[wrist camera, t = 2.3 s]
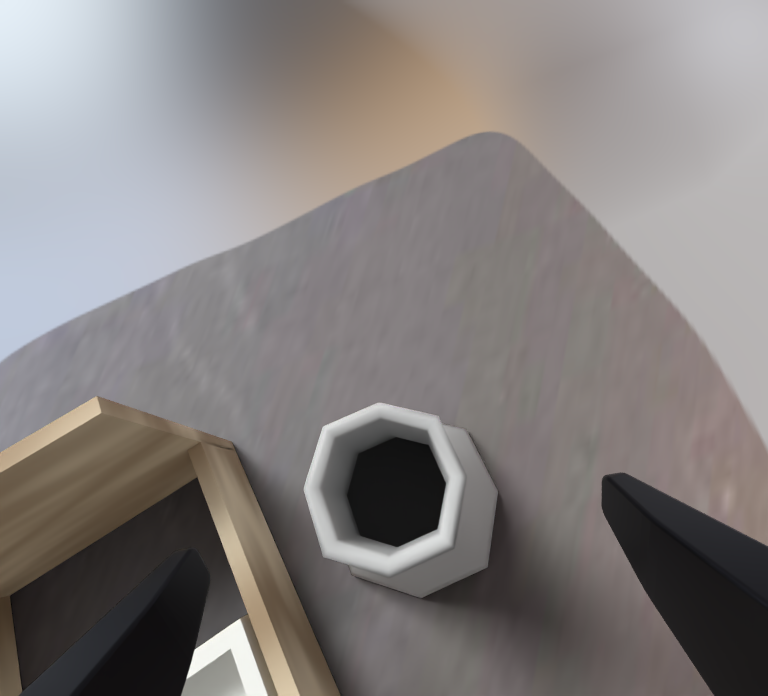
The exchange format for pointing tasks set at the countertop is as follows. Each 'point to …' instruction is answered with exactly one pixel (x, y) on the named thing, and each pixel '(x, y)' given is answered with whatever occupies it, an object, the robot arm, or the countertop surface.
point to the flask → (401, 499)
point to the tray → (230, 665)
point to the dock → (128, 499)
